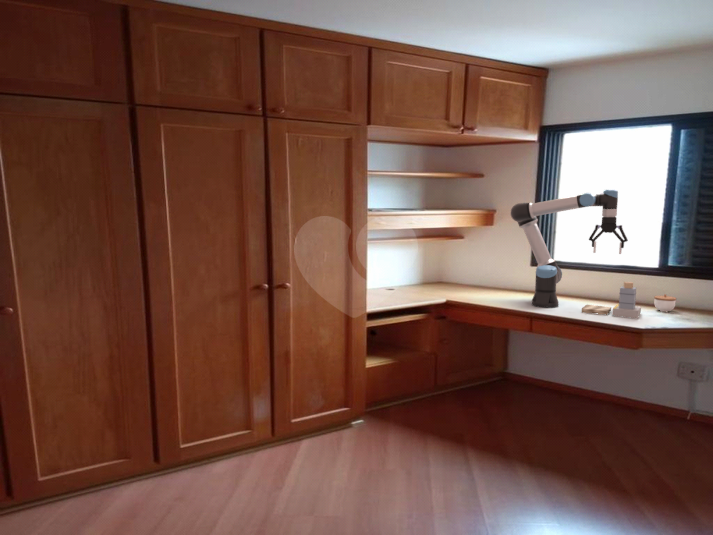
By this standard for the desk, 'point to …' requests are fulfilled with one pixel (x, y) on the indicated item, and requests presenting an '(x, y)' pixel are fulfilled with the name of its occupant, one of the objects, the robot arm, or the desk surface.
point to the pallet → (596, 309)
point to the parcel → (628, 285)
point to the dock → (626, 311)
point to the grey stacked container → (627, 298)
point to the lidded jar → (664, 302)
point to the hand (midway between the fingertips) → (607, 253)
